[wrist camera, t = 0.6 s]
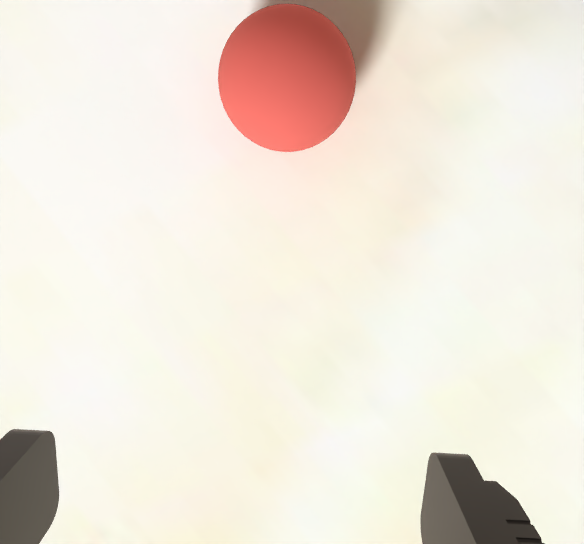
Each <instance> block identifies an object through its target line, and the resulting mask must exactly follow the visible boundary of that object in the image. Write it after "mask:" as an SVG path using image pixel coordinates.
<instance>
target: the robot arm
mask: <svg viewBox="0 0 584 544" xmlns="http://www.w3.org/2000/svg"><path fill="white" fill-rule="evenodd" d="M58 501H59V486H58V473H57V460H56V447H55V438H54V435H53V433H52V432H50V431H39V430H20V429H13V430H11V431H9V432H8V433H7V434H6V435H5V436H4V437H3V438H2V439H1V440H0V544H39V543H40V541H41V540H42V538H43V537H44V535H45V534H46V532H47V531H48V529H49V528H50V526H51V524H52V522H53V520H54V517H55V514H56V511H57V507H58ZM421 536H422V542H423V544H544V543H542V542H541V537H540V536H539V534H538V532H537V531H536V529H535V528H534V526H533V525H531V524H530V520H529V518H528V516H527V515H526V513H525V511H524V510H523V508H522V507H521V505H520V503H519V502H518V500H517V499H516V498H515V497H513V496H512V495H511V494H510V493H509V492H508V491H507V490H505V489H504V488H503V487H502V486H501V485H500V484H498V483H497V482H496V481H484V480H483V478H482V476H481V475H480V473H479V471H478V469H477V467H476V466H475V464H474V462H473V460H472V459H471V457H470V456H469V455H466V454H448V453H431V455H430V457H429V461H428V467H427V474H426V482H425V489H424V496H423V503H422V510H421Z"/></svg>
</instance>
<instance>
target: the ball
mask: <svg viewBox="0 0 584 544" xmlns="http://www.w3.org/2000/svg"><path fill="white" fill-rule="evenodd" d="M218 83H219V92H220V96H221V100H222V103H223V106H224V109H225V111H226V113H227V115H228V117H229V118H230V120H231V121H232V123H233V124H234V125H235V127H236V128H237V129H238V130H239V131H240V132H241V133H242V134H243V135H244V136H245V137H247V138H248V139H250V140H251V141H252V142H254V143H256V144H258V145H260V146H262V147H264V148H267V149H270V150H275V151H282V152H293V151H300V150H304V149H307V148H310V147H313V146H315V145H317V144H319V143H321V142H322V141H324V140H325V139H327V138H328V137H329V136H330V135H331V134H333V133H334V132H335V130H336V129H337V128H338V127H339V126H340V125H341V123H342V122H343V120H344V119H345V117H346V115H347V113H348V111H349V109H350V106H351V104H352V101H353V97H354V92H355V83H356V71H355V64H354V59H353V56H352V52H351V50H350V47H349V45H348V43H347V41H346V39H345V38H344V36H343V34H342V33H341V32H340V30H339V29H338V28H337V27H336V26H335V25H334V24H333V23H332V22H331V21H330V20H329V19H328V18H326V17H325V16H324V15H322V14H320V13H319V12H317V11H315V10H313V9H310V8H308V7H305V6H301V5H296V4H277V5H273V6H268V7H266V8H263V9H260V10H258V11H256V12H255V13H253V14H251V15H250V16H248V17H247V18H246V19H244V20H243V21H242V22H241V23H240V24H239V25H238V26H237V27H236V29H235V30H234V31H233V32H232V34H231V35H230V37H229V39H228V40H227V42H226V45H225V47H224V49H223V52H222V55H221V59H220V64H219V73H218Z"/></svg>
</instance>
